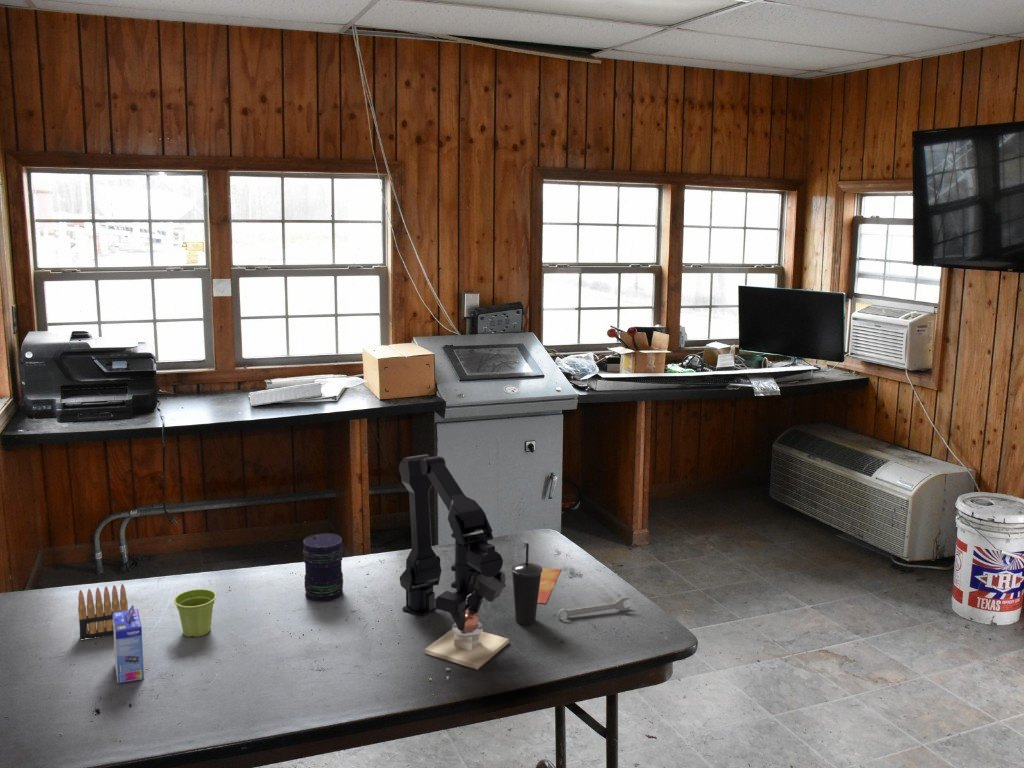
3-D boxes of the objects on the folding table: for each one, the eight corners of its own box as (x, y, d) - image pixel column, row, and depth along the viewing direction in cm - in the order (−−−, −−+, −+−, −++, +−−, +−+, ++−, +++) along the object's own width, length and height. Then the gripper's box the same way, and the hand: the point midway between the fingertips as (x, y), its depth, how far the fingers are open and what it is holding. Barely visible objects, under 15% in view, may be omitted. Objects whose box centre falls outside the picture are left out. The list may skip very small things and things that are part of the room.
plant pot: (225, 631, 208) (223, 597, 206) (188, 645, 201) (185, 610, 200) (205, 618, 214) (204, 585, 213) (168, 631, 208) (166, 597, 206)
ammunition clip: (130, 628, 209) (126, 581, 206) (130, 632, 207) (126, 584, 205) (80, 637, 204) (76, 589, 202) (80, 640, 203) (75, 592, 200)
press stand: (424, 653, 199) (424, 634, 198) (458, 628, 211) (458, 610, 210) (477, 669, 193) (477, 650, 192) (508, 642, 205) (509, 625, 204)
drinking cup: (538, 629, 212) (540, 551, 208) (507, 625, 213) (508, 548, 209) (543, 615, 219) (545, 539, 215) (513, 611, 220) (514, 536, 216)
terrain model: (561, 571, 247) (561, 569, 246) (545, 605, 225) (545, 603, 225) (475, 561, 252) (475, 559, 252) (452, 594, 231) (452, 592, 231)
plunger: (446, 645, 200) (446, 617, 199) (462, 633, 206) (462, 605, 205) (472, 653, 197) (472, 624, 196) (488, 640, 203) (488, 612, 202)
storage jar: (351, 592, 230) (350, 538, 227) (324, 606, 222) (323, 550, 219) (323, 583, 235) (322, 530, 232) (296, 596, 227) (294, 541, 224)
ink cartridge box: (146, 679, 187) (141, 616, 184) (117, 685, 184) (112, 621, 181) (141, 658, 195) (137, 597, 192) (114, 663, 193) (109, 602, 190)
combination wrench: (558, 609, 216) (633, 597, 222) (556, 607, 217) (630, 595, 223) (558, 623, 216) (632, 611, 222) (556, 621, 218) (630, 609, 224)
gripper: (476, 583, 186) (476, 651, 189) (519, 554, 202) (517, 617, 205) (433, 572, 191) (433, 638, 194) (477, 545, 207) (477, 606, 210)
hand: (467, 625), depth 201 cm, fingers open, 5 cm apart
